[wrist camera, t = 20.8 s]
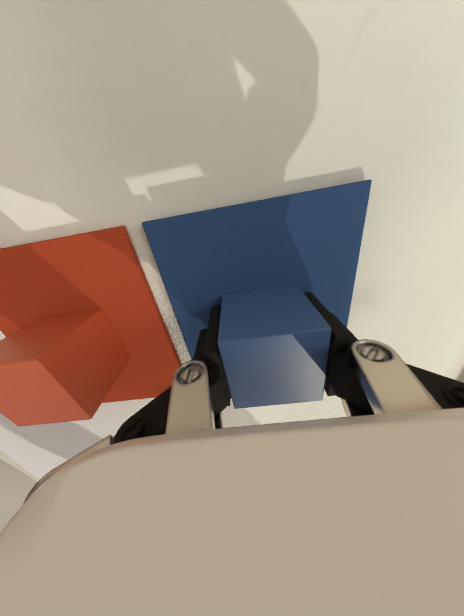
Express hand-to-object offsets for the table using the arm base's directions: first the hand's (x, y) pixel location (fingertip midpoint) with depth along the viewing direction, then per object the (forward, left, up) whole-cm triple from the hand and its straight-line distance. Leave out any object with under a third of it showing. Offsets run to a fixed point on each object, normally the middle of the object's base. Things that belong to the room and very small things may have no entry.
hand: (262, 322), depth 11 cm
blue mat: (0, 0, -1) cm, 1 cm away
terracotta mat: (0, -11, -1) cm, 11 cm away
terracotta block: (0, -11, 0) cm, 11 cm away
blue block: (0, 0, 0) cm, 0 cm away
